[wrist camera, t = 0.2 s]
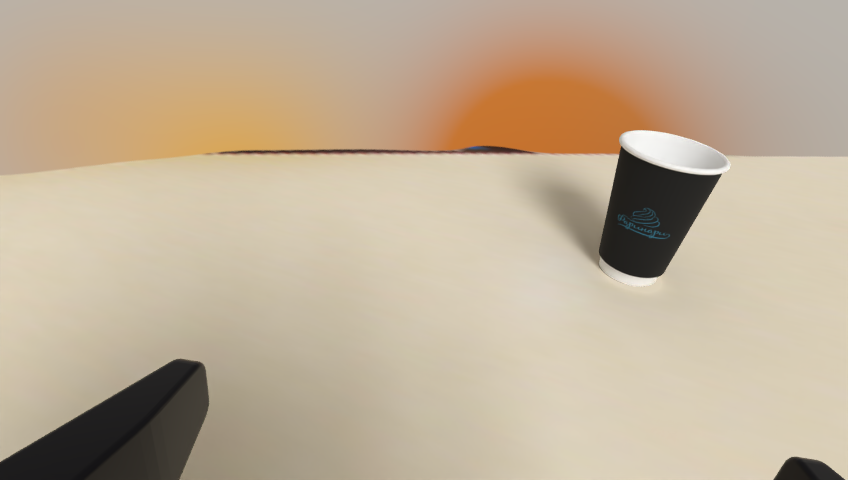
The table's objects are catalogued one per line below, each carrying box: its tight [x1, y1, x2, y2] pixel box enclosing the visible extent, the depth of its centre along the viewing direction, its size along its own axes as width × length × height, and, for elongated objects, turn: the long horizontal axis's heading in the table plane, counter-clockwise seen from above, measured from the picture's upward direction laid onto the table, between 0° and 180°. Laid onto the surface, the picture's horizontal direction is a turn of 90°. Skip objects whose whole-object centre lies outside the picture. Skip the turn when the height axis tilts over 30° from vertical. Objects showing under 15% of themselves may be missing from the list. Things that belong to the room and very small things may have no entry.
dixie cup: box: [599, 130, 730, 287], centre depth 43 cm, size 8×8×11 cm
